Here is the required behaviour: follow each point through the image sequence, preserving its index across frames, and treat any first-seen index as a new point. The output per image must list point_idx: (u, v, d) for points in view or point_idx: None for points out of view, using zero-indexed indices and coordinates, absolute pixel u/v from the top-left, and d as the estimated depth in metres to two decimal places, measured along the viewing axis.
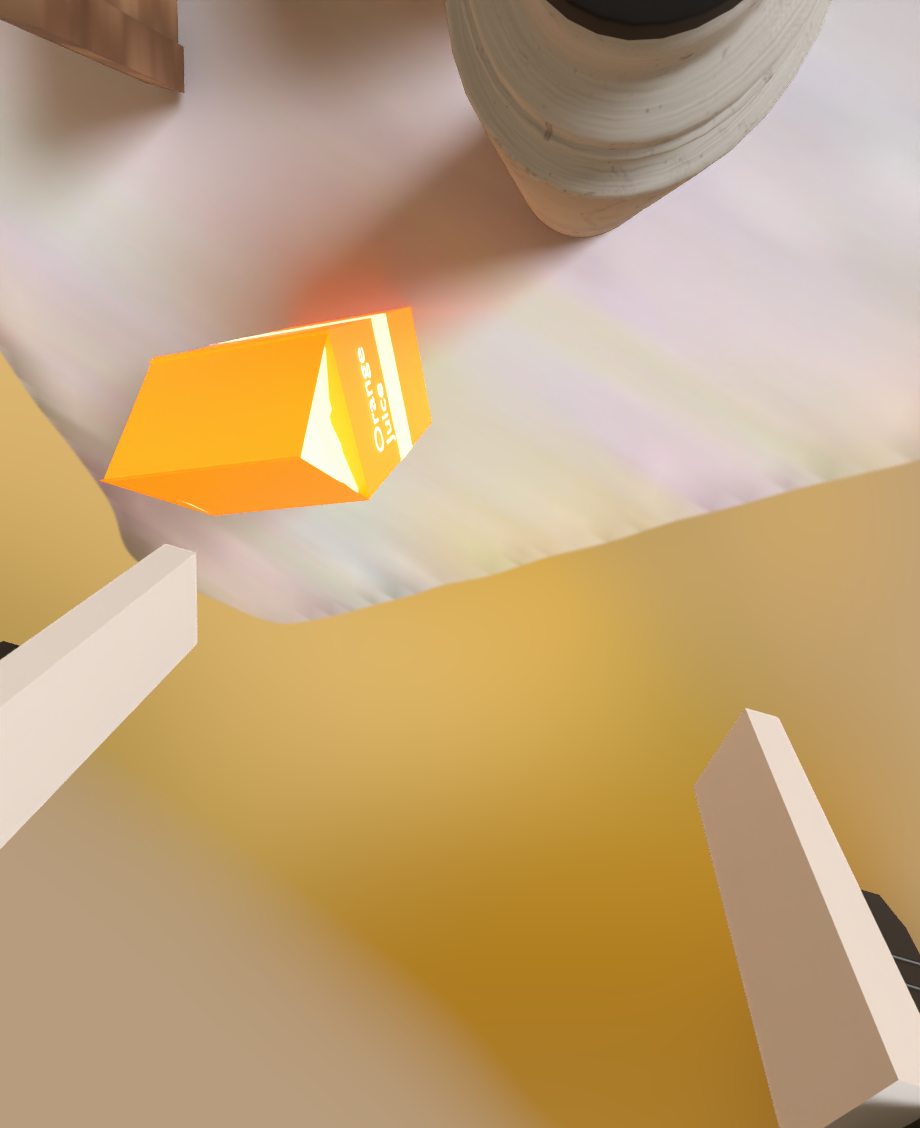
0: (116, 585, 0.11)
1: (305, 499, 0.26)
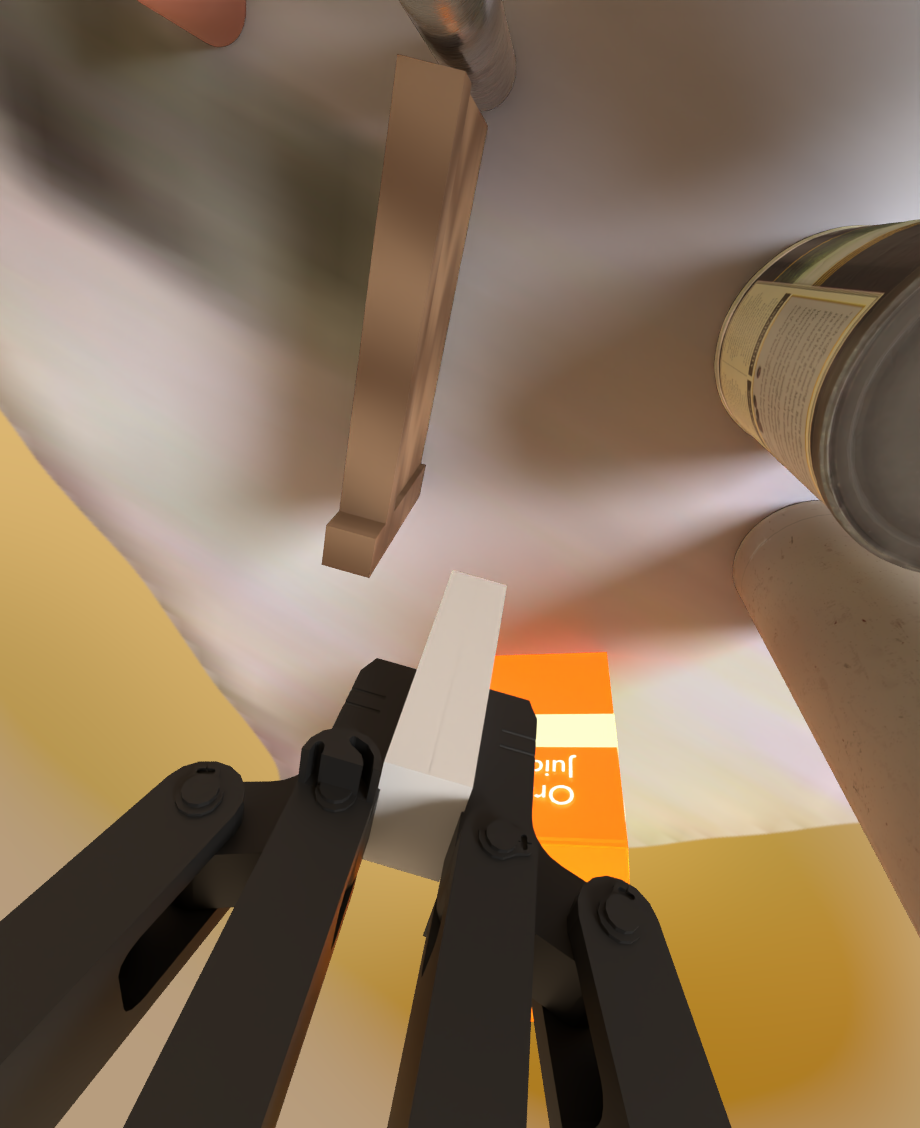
0: (445, 609, 0.13)
1: None
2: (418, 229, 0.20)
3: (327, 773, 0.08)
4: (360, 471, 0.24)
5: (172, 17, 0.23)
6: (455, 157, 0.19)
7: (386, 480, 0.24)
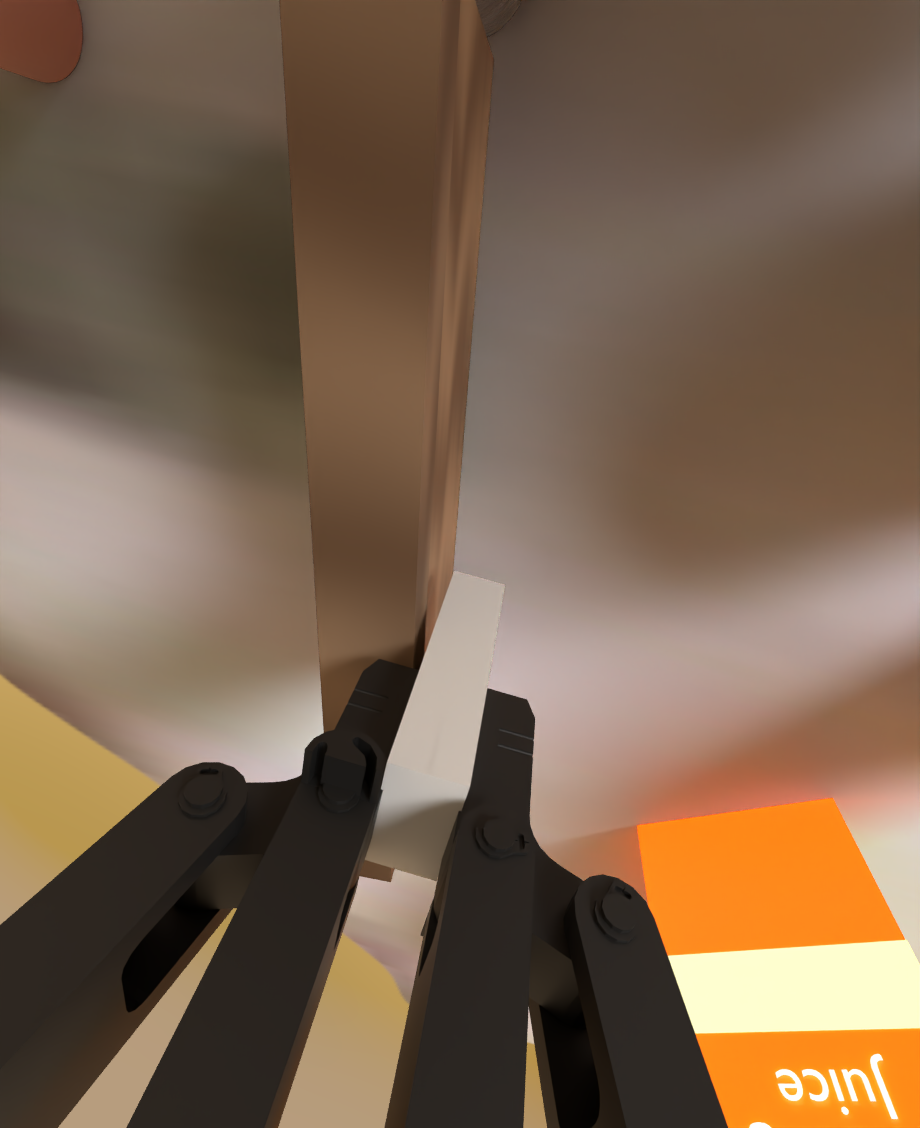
0: (448, 609, 0.13)
1: None
2: (388, 265, 0.09)
3: (330, 774, 0.08)
4: None
5: None
6: (449, 90, 0.08)
7: None
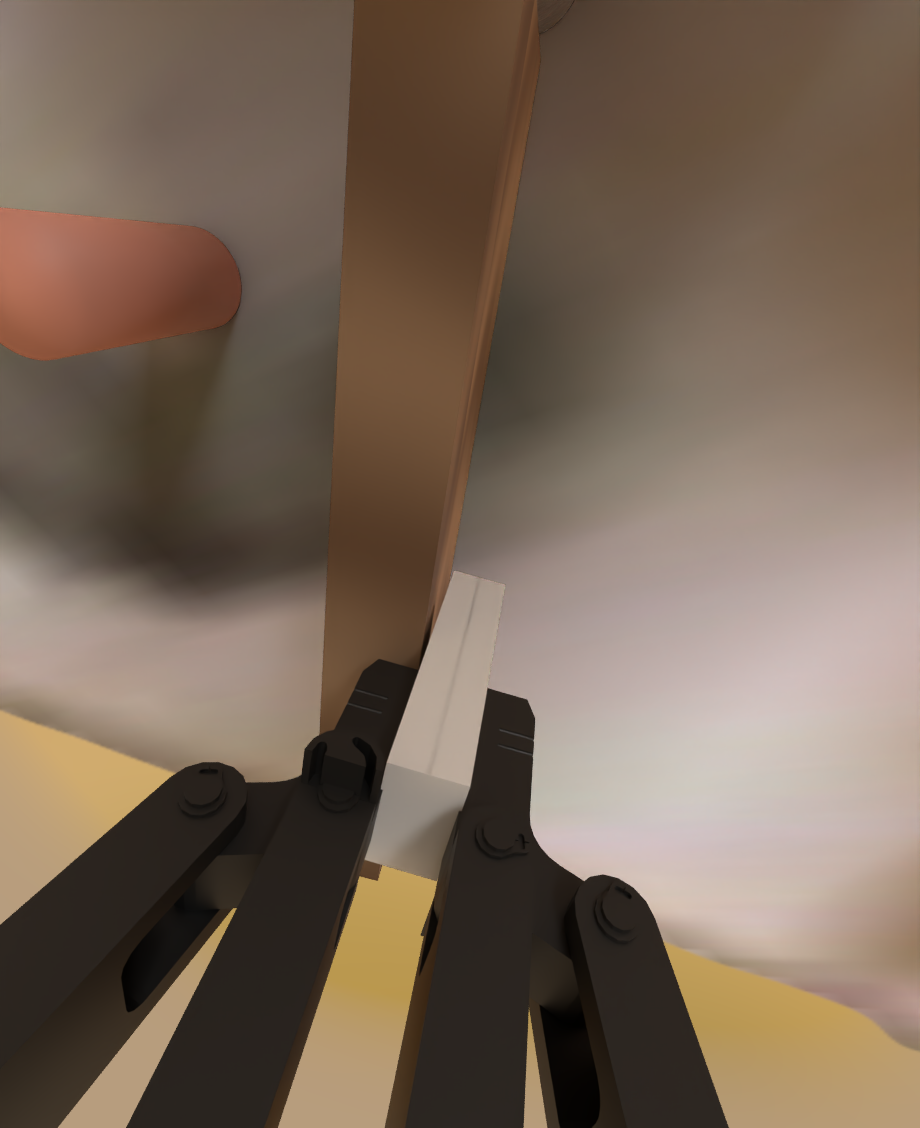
0: (447, 609, 0.13)
1: None
2: (438, 261, 0.09)
3: (330, 774, 0.08)
4: None
5: (170, 326, 0.16)
6: (516, 88, 0.08)
7: None
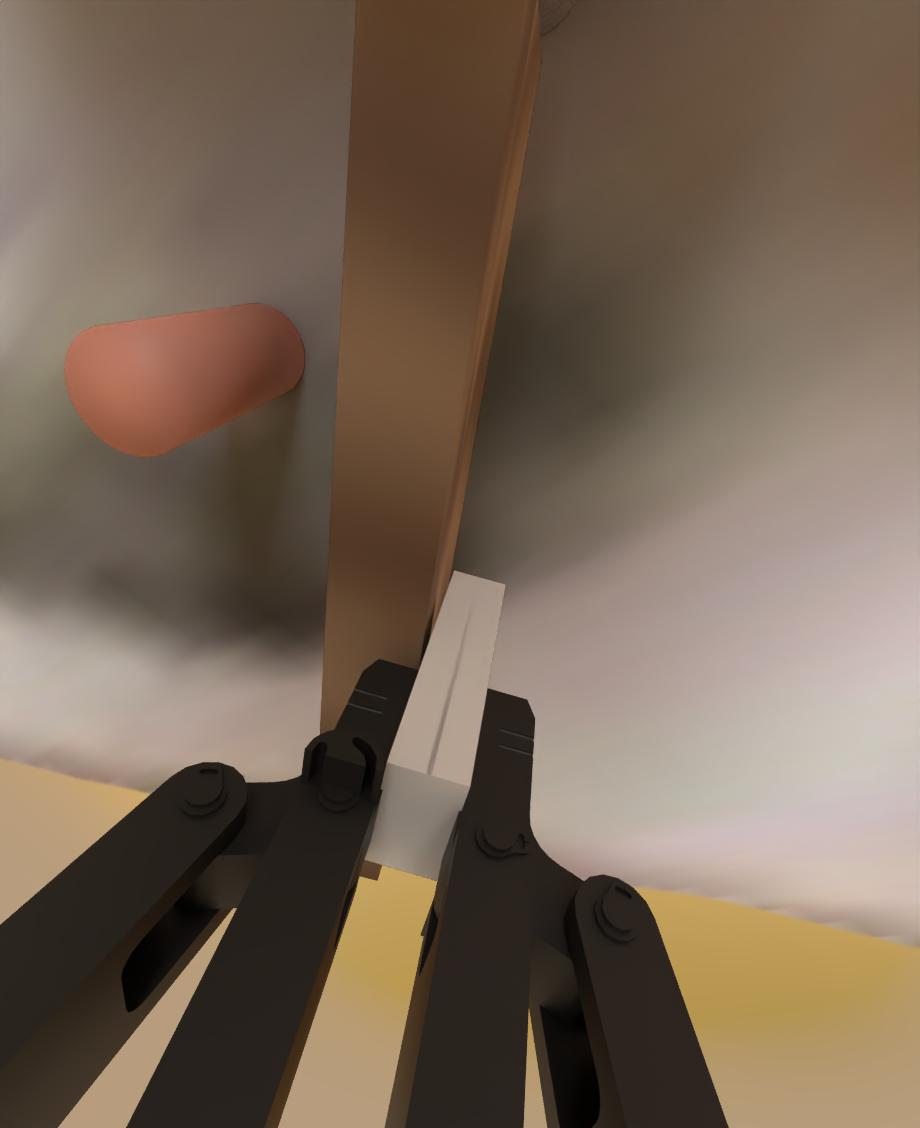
0: (447, 609, 0.13)
1: None
2: (439, 265, 0.09)
3: (330, 774, 0.08)
4: None
5: (252, 399, 0.16)
6: (517, 94, 0.08)
7: None
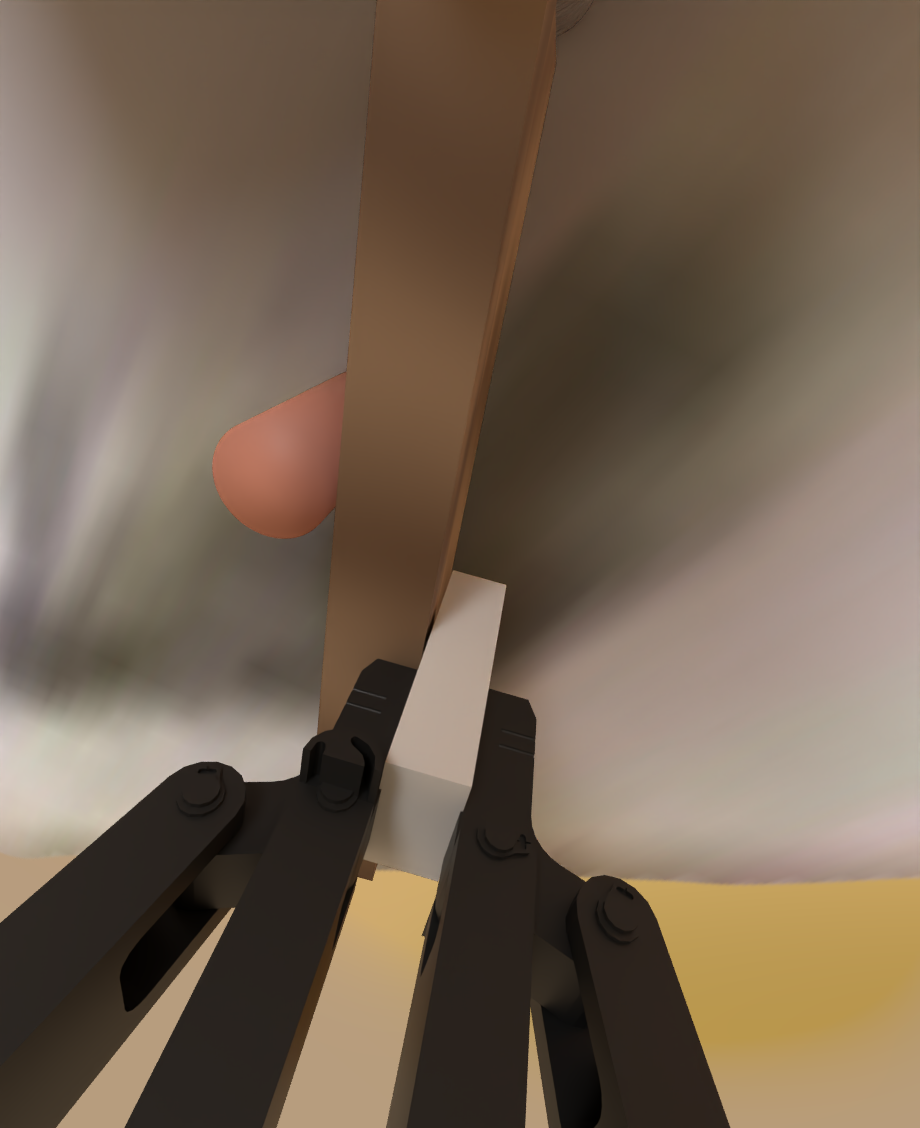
0: (446, 609, 0.13)
1: None
2: (453, 260, 0.09)
3: (329, 773, 0.08)
4: None
5: None
6: (535, 90, 0.08)
7: None
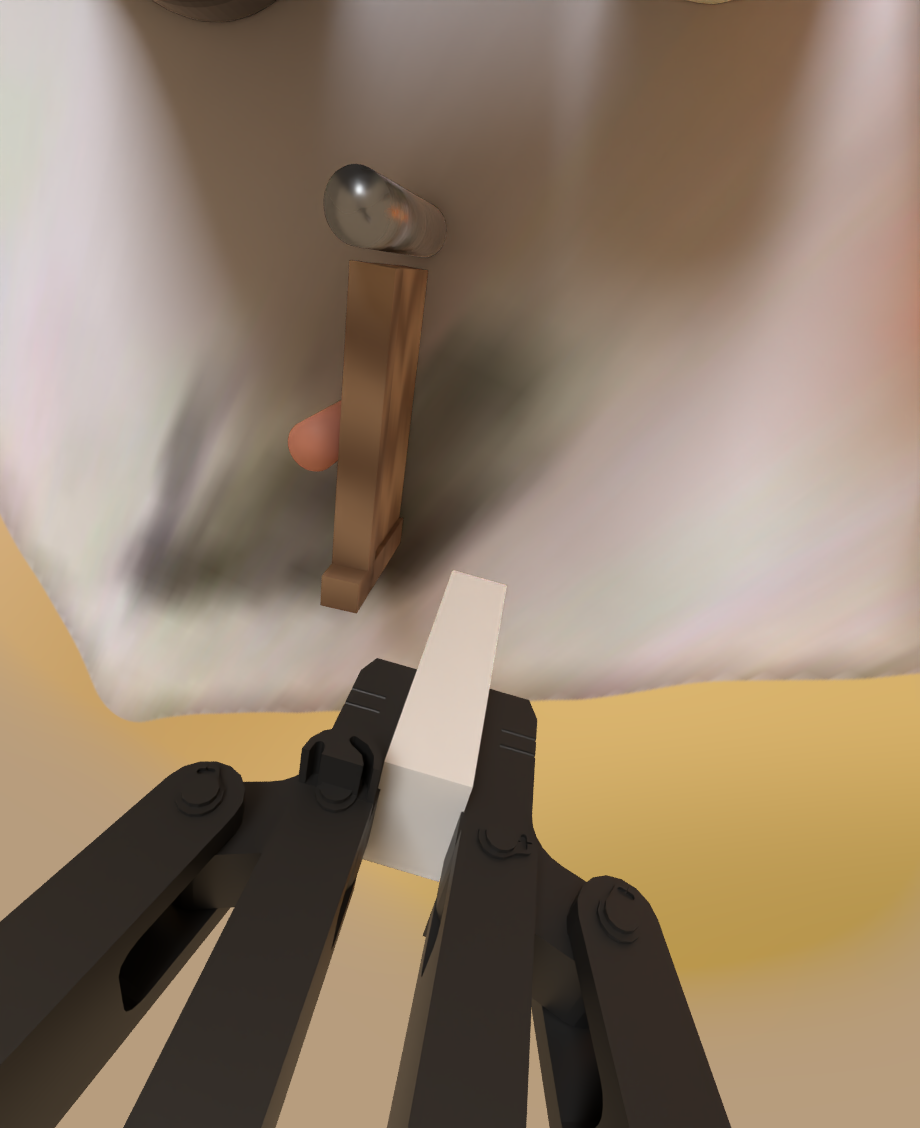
0: (446, 609, 0.13)
1: None
2: (373, 366, 0.28)
3: (327, 773, 0.08)
4: (345, 533, 0.32)
5: None
6: (396, 317, 0.27)
7: (365, 539, 0.32)
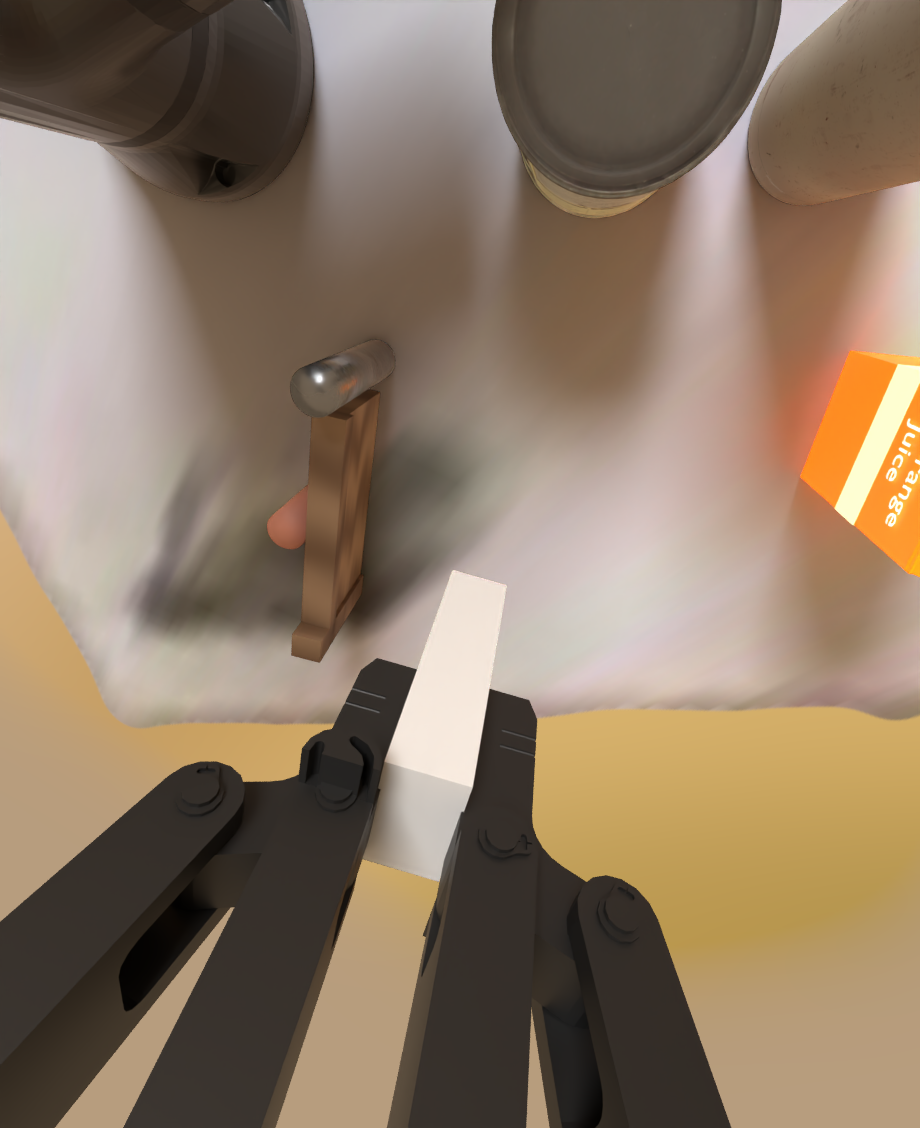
0: (446, 609, 0.13)
1: None
2: (331, 485, 0.36)
3: (328, 773, 0.08)
4: (311, 601, 0.41)
5: None
6: (348, 449, 0.36)
7: (327, 605, 0.41)
